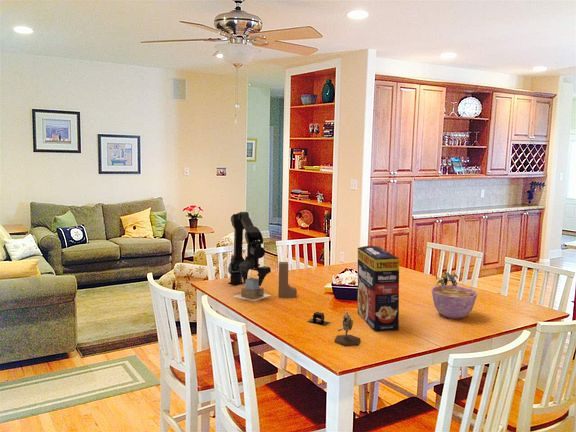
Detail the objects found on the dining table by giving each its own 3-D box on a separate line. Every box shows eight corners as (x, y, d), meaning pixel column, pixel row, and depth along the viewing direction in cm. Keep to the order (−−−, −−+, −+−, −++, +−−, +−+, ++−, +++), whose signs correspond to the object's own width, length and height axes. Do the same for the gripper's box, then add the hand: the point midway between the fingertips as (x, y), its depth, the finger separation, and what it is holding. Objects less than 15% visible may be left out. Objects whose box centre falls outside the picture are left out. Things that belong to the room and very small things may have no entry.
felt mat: (249, 291, 264) (249, 290, 264) (271, 295, 256) (271, 295, 256) (232, 297, 252) (232, 296, 252) (254, 302, 244) (254, 301, 244)
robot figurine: (338, 335, 202) (339, 306, 200) (361, 338, 199) (362, 308, 197) (332, 344, 191) (333, 314, 190) (357, 348, 188) (358, 317, 187)
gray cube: (251, 287, 256) (251, 277, 255) (259, 288, 253) (259, 278, 252) (245, 289, 252) (245, 279, 251) (253, 290, 249) (253, 280, 248)
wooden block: (295, 296, 257) (296, 261, 254) (296, 298, 252) (297, 263, 250) (278, 296, 256) (278, 261, 254) (278, 298, 251) (279, 263, 249)
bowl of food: (421, 311, 234) (422, 287, 233) (454, 307, 242) (455, 284, 241) (450, 325, 216) (452, 299, 215) (485, 319, 224) (487, 294, 223)
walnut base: (251, 293, 258) (251, 285, 258) (263, 296, 254) (263, 288, 253) (241, 296, 252) (241, 289, 251) (253, 299, 247) (253, 291, 247)
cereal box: (356, 312, 232) (356, 244, 228) (379, 311, 233) (380, 243, 229) (374, 333, 206) (374, 257, 201) (400, 331, 207) (401, 255, 203)
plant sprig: (453, 298, 278) (462, 284, 270) (434, 294, 278) (443, 280, 270) (450, 282, 286) (459, 269, 279) (432, 279, 286) (440, 265, 278)
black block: (334, 323, 217) (335, 313, 216) (327, 328, 211) (327, 318, 210) (309, 318, 223) (310, 308, 223) (301, 323, 217) (302, 312, 216)
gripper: (228, 254, 249) (227, 285, 251) (257, 259, 238) (257, 291, 240) (242, 251, 258) (242, 280, 260) (271, 255, 247) (271, 286, 249)
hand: (252, 284), depth 252 cm, fingers open, 9 cm apart
